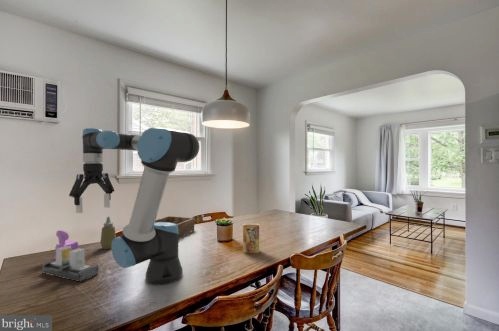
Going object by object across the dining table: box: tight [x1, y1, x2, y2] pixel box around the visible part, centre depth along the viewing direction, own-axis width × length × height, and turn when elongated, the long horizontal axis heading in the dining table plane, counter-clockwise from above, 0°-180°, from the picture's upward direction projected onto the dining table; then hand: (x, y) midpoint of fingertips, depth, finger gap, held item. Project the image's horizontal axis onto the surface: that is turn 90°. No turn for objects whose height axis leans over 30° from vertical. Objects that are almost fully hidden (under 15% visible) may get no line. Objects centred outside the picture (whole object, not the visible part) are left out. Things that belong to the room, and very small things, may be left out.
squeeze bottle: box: [100, 216, 117, 250], centre depth 139 cm, size 8×8×18 cm
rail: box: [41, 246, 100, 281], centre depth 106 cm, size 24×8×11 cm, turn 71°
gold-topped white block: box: [69, 247, 91, 273], centre depth 104 cm, size 8×4×9 cm, turn 71°
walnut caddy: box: [155, 215, 195, 239], centre depth 164 cm, size 22×31×9 cm
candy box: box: [242, 223, 260, 254], centre depth 133 cm, size 9×4×15 cm, turn 92°
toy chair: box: [53, 229, 79, 259], centre depth 125 cm, size 8×9×15 cm
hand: (93, 209), depth 109 cm, fingers open, 13 cm apart
